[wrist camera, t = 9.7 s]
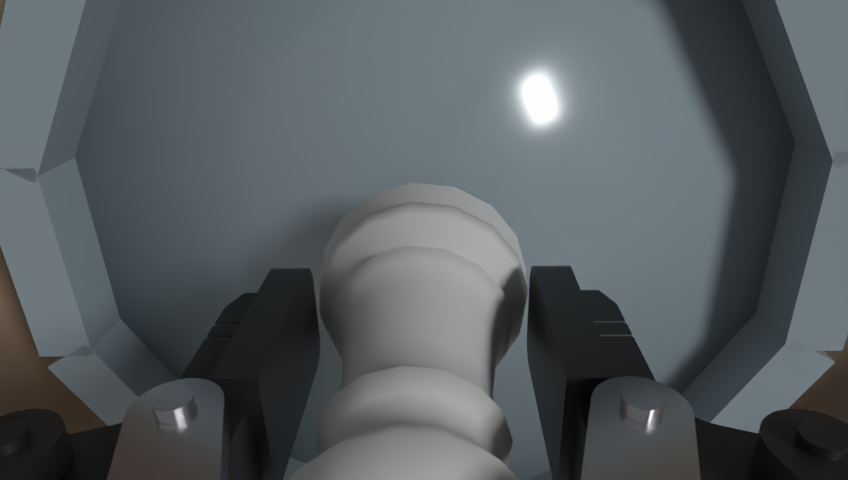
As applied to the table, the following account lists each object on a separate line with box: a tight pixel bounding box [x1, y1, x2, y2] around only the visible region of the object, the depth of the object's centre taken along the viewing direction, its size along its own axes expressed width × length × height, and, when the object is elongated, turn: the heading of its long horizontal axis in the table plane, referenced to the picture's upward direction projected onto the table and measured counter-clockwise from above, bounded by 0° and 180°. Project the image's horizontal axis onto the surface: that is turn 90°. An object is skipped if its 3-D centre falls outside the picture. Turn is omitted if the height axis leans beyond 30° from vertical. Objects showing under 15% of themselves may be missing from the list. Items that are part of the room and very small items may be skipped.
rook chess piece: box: [290, 183, 528, 480], centre depth 10 cm, size 4×4×8 cm
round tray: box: [0, 0, 848, 480], centre depth 15 cm, size 20×20×2 cm
